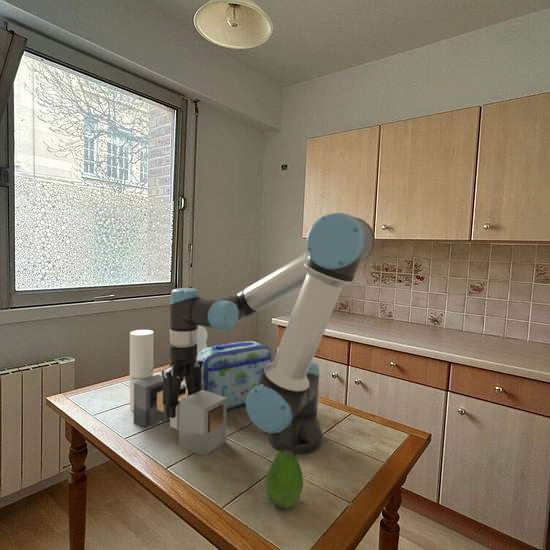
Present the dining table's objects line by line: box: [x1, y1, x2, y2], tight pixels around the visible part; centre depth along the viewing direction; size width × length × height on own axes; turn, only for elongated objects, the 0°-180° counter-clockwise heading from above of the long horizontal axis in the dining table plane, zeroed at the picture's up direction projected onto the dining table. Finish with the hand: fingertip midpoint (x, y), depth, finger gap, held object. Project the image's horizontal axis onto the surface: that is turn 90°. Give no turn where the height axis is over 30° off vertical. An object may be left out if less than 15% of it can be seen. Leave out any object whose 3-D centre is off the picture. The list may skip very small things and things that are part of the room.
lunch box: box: [197, 340, 272, 410], centre depth 127 cm, size 26×11×21 cm, turn 123°
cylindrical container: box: [129, 329, 154, 412], centre depth 121 cm, size 7×7×25 cm
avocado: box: [264, 450, 304, 509], centre depth 79 cm, size 8×8×12 cm
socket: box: [133, 374, 166, 430], centre depth 113 cm, size 6×9×13 cm, turn 147°
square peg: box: [157, 385, 224, 432], centre depth 104 cm, size 21×7×7 cm, turn 57°
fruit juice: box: [181, 325, 208, 388], centre depth 143 cm, size 9×9×28 cm
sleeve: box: [178, 390, 228, 457], centre depth 101 cm, size 9×9×13 cm
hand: (182, 423), depth 106 cm, fingers closed on square peg, 5 cm apart
